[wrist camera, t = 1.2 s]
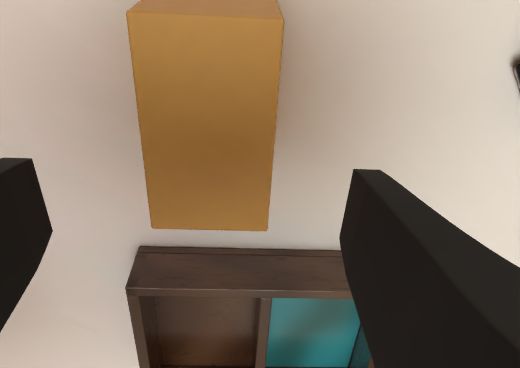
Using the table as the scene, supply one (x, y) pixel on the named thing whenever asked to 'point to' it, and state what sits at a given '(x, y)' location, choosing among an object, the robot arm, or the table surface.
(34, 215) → the robot arm
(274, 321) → the organizer
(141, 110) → the carton
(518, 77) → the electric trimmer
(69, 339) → the table surface
